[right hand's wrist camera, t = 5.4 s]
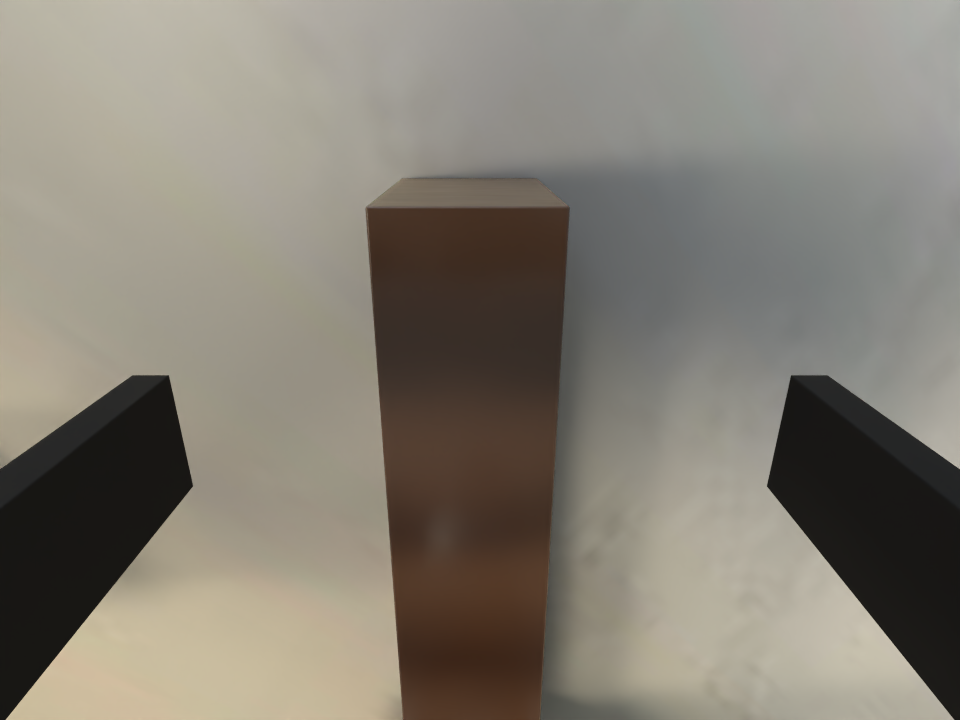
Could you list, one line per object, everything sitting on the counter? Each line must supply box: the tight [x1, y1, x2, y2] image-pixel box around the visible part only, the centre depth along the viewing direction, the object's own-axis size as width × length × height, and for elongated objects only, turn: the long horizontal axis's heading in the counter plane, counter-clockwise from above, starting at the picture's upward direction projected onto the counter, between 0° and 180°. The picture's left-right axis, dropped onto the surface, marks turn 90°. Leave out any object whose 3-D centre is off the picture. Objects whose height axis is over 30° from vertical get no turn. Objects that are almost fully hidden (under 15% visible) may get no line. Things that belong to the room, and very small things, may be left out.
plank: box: [366, 178, 570, 720], centre depth 24 cm, size 32×5×8 cm, turn 0°
